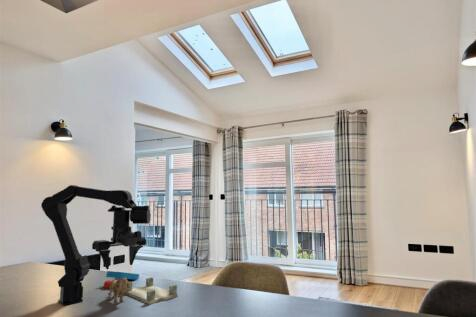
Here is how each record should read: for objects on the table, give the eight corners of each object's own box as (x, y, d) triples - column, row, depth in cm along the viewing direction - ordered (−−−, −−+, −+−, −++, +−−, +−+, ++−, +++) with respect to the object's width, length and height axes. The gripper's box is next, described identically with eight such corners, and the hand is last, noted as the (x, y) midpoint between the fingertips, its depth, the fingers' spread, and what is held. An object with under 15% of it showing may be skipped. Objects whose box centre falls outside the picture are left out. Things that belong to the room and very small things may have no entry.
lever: (123, 289, 147) (97, 288, 132) (126, 273, 150) (101, 270, 134) (136, 290, 145) (111, 289, 130) (139, 274, 148) (115, 271, 132)
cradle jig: (149, 304, 112) (149, 292, 113) (123, 293, 125) (123, 282, 126) (177, 296, 121) (177, 285, 122) (150, 286, 134) (150, 277, 135)
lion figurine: (132, 303, 113) (133, 277, 114) (117, 307, 110) (119, 280, 111) (114, 294, 124) (115, 270, 125) (100, 297, 120) (101, 273, 121)
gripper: (106, 227, 107) (104, 275, 105) (155, 223, 121) (153, 266, 119) (92, 225, 115) (90, 270, 113) (139, 222, 128) (138, 262, 126)
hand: (119, 266), depth 118 cm, fingers open, 9 cm apart
